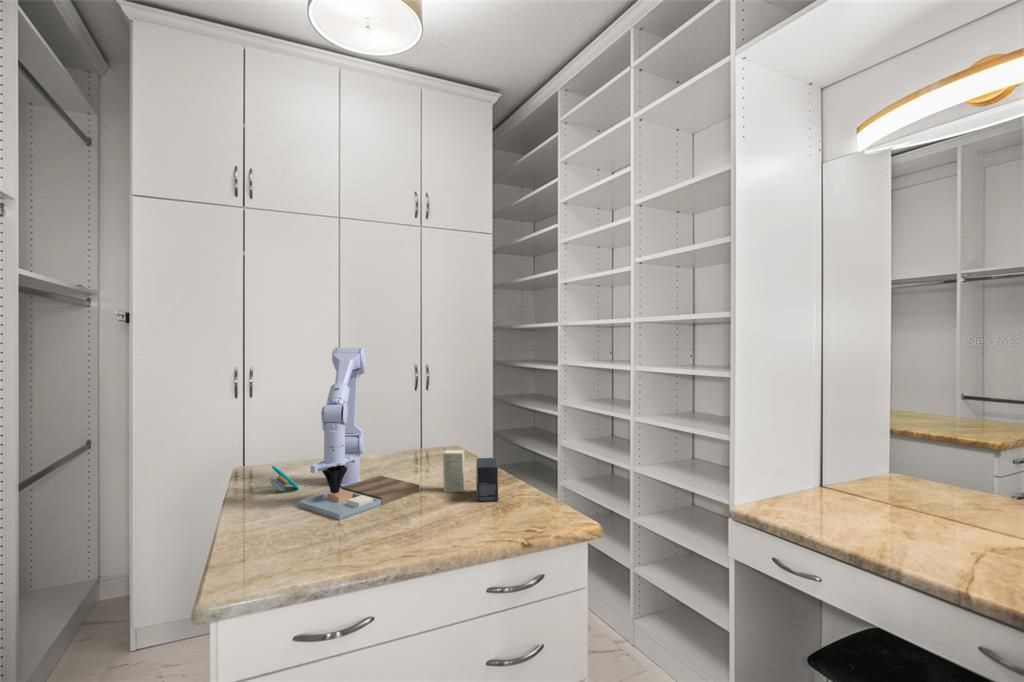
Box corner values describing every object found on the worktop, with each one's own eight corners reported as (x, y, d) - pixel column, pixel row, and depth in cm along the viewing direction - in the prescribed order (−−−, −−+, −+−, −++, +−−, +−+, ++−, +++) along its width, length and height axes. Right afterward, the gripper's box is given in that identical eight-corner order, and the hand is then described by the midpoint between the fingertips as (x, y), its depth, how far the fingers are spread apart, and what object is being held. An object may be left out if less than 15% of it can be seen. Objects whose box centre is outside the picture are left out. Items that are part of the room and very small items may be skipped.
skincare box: (465, 488, 159) (465, 449, 159) (463, 492, 154) (463, 453, 154) (445, 487, 159) (445, 449, 159) (442, 492, 155) (442, 452, 155)
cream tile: (347, 505, 142) (347, 499, 142) (361, 500, 146) (361, 495, 146) (359, 508, 139) (358, 503, 139) (373, 503, 143) (373, 498, 143)
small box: (475, 491, 156) (476, 457, 156) (496, 490, 157) (497, 457, 156) (476, 502, 145) (476, 466, 145) (498, 502, 146) (499, 466, 146)
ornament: (262, 477, 158) (261, 475, 149) (273, 465, 160) (273, 463, 151) (288, 499, 159) (289, 499, 150) (299, 487, 161) (300, 487, 152)
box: (298, 506, 141) (298, 501, 141) (340, 493, 153) (340, 488, 153) (339, 520, 131) (339, 514, 131) (381, 505, 143) (381, 499, 143)
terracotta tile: (327, 499, 146) (327, 494, 146) (342, 494, 151) (342, 489, 151) (338, 502, 144) (338, 497, 144) (353, 497, 148) (353, 492, 148)
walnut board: (341, 493, 153) (341, 486, 153) (379, 481, 166) (379, 475, 165) (382, 504, 143) (382, 497, 143) (419, 491, 155) (419, 484, 155)
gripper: (321, 452, 137) (321, 501, 137) (363, 442, 149) (363, 488, 150) (305, 448, 141) (305, 497, 141) (348, 439, 153) (348, 484, 153)
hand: (334, 492), depth 146 cm, fingers closed
